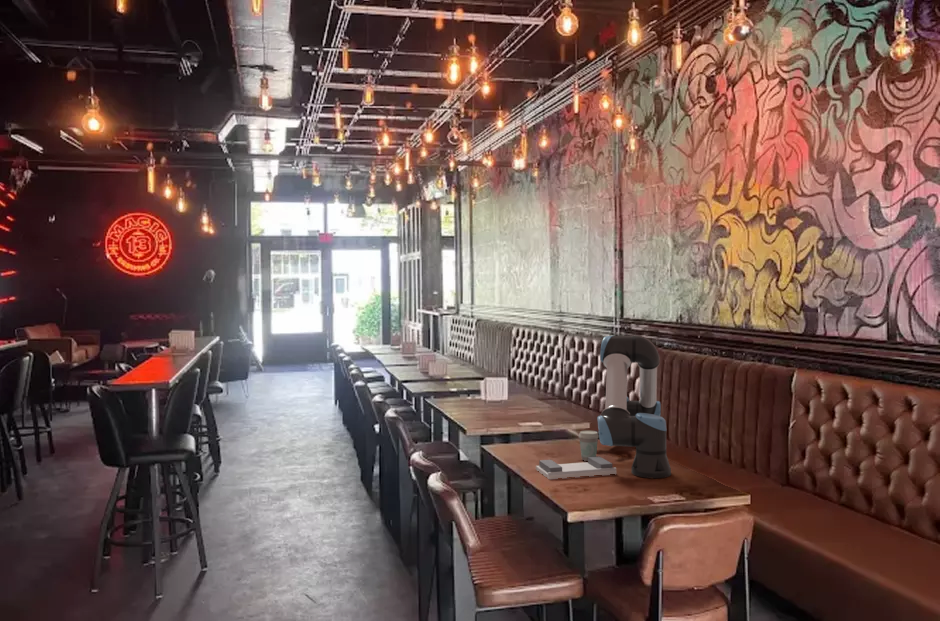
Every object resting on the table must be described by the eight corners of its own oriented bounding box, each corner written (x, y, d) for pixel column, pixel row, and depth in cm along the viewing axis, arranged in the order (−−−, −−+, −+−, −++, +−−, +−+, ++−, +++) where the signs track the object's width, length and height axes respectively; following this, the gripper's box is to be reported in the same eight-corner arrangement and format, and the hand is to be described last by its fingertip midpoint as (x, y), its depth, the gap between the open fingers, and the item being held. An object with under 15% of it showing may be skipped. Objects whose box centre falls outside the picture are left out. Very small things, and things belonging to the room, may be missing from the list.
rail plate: (600, 464, 304) (599, 455, 304) (616, 474, 288) (616, 464, 288) (535, 469, 297) (535, 459, 297) (548, 479, 282) (548, 469, 282)
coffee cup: (574, 460, 313) (574, 432, 312) (587, 456, 318) (587, 429, 318) (590, 463, 306) (590, 435, 306) (603, 460, 312) (602, 432, 311)
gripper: (639, 444, 330) (623, 453, 312) (587, 438, 344) (569, 447, 326) (639, 427, 330) (622, 435, 312) (587, 422, 343) (569, 430, 325)
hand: (595, 441), depth 319 cm, fingers open, 13 cm apart
